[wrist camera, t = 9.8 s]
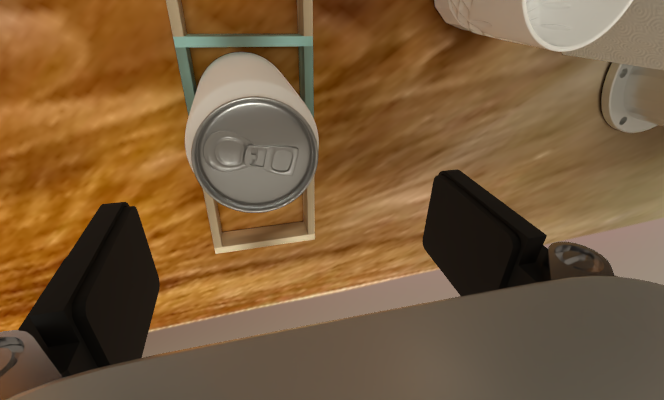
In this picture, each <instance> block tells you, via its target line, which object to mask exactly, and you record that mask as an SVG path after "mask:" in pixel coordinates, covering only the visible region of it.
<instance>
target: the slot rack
mask: <svg viewBox="0 0 664 400" xmlns="http://www.w3.org/2000/svg"><path fill="white" fill-rule="evenodd" d="M166 4H167V9H168V14H169V19H170V24H171V29H172V34H173V39H174V44H175V49H176V55H177V60H178V65H179V70H180V75H181V80H182V85H183V90H184V95H185V100H186V106H187V111H188V116H189V114H190V110H191V107H192V104H193V100H194V97H195V94H196V91H197V87H196V82H195V76H194V70H193V65H192V59H191V53H190V48H189V47H282V46H298V51H299V85H300V98H301V99H302V100H303V102H304V103H305V104H306V106H307V107H308V109H309V111H310V112H311V114H312V116H313V118H314V94H313V0H297V17H298V34H187V31H186V25H185V19H184V14H183V8H182V2H181V0H166ZM203 192H204V197H205V202H206V207H207V213H208V218H209V223H210V228H211V233H212V238H213V243H214V248H215V253H216V254H218V253H225V252H232V251H238V250H245V249H252V248H259V247H266V246H272V245H279V244H286V243H293V242H299V241H306V240H313V239H315V199H314V177H313V179H312V181H311V183H310V184H309V186H308V187H307V188H306V190H305V191H304V192H303V222H296V223H288V224H281V225H273V226H266V227H258V228H251V229H243V230H236V231H229V232H222V229H221V223H220V217H219V212H218V206H217V201H216V200H214V199H213V198H212V197H211V196H209V195H208V194H207V193H206V192H205V190H204V189H203Z"/></svg>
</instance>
